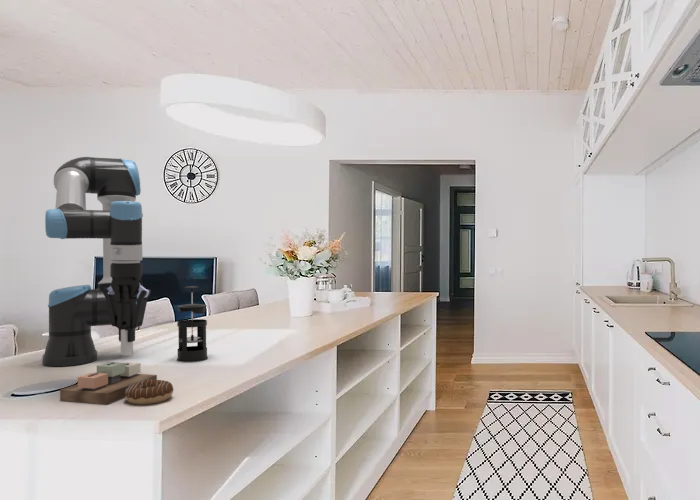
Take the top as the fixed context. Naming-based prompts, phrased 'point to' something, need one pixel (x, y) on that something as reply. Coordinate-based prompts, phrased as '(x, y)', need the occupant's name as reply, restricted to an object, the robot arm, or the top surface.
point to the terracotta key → (92, 380)
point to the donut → (148, 392)
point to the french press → (197, 351)
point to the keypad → (103, 390)
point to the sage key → (111, 368)
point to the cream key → (131, 369)
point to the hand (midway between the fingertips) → (127, 354)
